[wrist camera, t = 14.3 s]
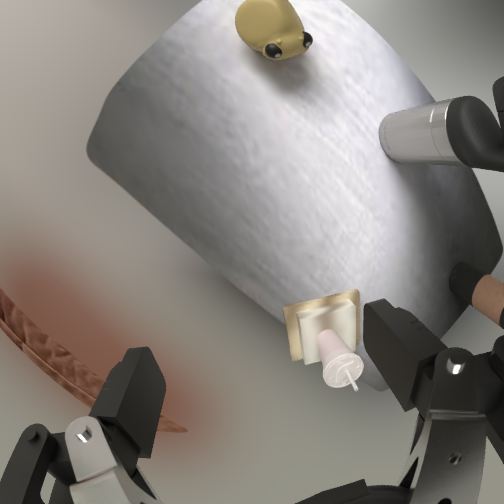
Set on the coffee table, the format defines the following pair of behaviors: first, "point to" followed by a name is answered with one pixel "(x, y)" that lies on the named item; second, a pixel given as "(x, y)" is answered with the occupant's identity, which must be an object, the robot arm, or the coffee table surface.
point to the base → (314, 304)
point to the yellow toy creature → (272, 28)
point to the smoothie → (338, 360)
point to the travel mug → (479, 291)
